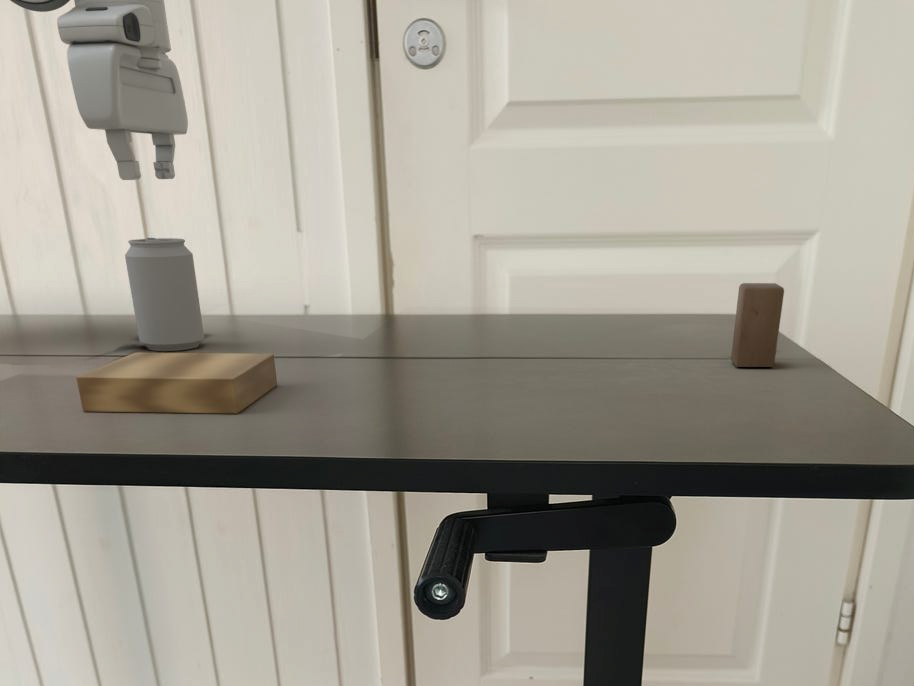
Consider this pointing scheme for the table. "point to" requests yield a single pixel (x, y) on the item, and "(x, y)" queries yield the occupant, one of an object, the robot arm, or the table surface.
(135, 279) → the can
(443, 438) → the table surface
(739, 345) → the wooden block
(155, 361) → the stand
